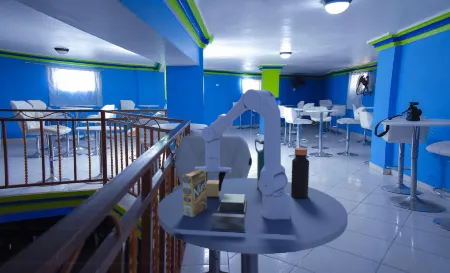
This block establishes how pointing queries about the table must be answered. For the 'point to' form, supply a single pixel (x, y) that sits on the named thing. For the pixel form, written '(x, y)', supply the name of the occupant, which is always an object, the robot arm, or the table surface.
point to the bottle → (300, 174)
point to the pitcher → (259, 160)
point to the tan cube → (212, 188)
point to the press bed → (228, 220)
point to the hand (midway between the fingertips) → (213, 190)
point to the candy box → (194, 192)
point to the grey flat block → (233, 202)
